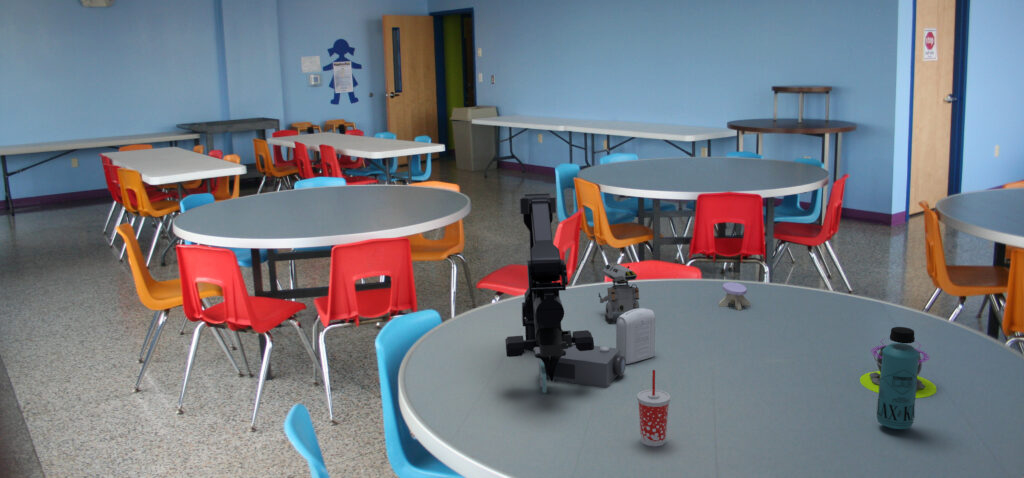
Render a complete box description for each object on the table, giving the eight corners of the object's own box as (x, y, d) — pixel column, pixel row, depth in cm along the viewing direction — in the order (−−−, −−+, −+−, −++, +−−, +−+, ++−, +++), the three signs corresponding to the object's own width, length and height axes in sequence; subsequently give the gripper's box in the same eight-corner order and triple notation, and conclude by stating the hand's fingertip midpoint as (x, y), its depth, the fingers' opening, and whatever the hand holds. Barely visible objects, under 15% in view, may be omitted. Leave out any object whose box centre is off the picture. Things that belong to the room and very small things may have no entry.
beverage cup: (662, 451, 147) (663, 379, 144) (631, 443, 150) (631, 373, 147) (674, 437, 152) (675, 367, 149) (644, 430, 155) (644, 362, 152)
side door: (537, 378, 182) (537, 359, 181) (544, 378, 182) (543, 358, 181) (540, 393, 173) (540, 373, 172) (547, 393, 174) (546, 373, 173)
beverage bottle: (868, 423, 155) (875, 324, 151) (901, 420, 156) (909, 322, 152) (887, 438, 149) (894, 335, 145) (921, 435, 149) (929, 333, 145)
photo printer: (645, 352, 197) (645, 303, 194) (657, 356, 193) (658, 307, 191) (613, 361, 191) (613, 311, 189) (625, 366, 188) (625, 316, 185)
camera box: (539, 378, 183) (538, 352, 181) (555, 362, 192) (555, 338, 190) (614, 388, 175) (614, 362, 174) (627, 372, 184) (627, 346, 183)
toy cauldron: (844, 379, 177) (847, 331, 175) (893, 367, 183) (897, 321, 180) (901, 404, 163) (905, 353, 161) (953, 390, 169) (957, 341, 167)
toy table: (716, 300, 237) (717, 282, 236) (748, 301, 236) (748, 282, 235) (720, 310, 228) (720, 291, 227) (753, 311, 226) (753, 291, 225)
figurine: (629, 311, 230) (629, 260, 227) (642, 323, 219) (642, 269, 216) (598, 313, 228) (597, 262, 225) (609, 325, 217) (609, 272, 214)
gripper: (504, 327, 164) (510, 399, 167) (595, 320, 164) (599, 391, 167) (503, 311, 175) (508, 378, 178) (588, 304, 175) (592, 371, 178)
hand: (551, 380), depth 175 cm, fingers closed
